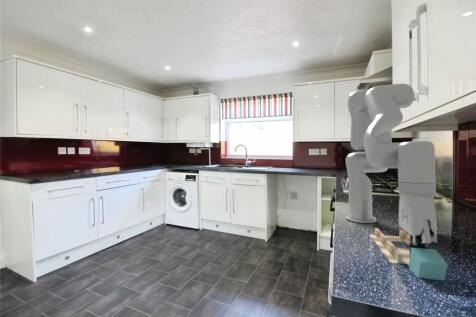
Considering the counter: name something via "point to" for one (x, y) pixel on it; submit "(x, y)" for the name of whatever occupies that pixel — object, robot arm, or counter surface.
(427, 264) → the block
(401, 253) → the channel
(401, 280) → the counter surface
